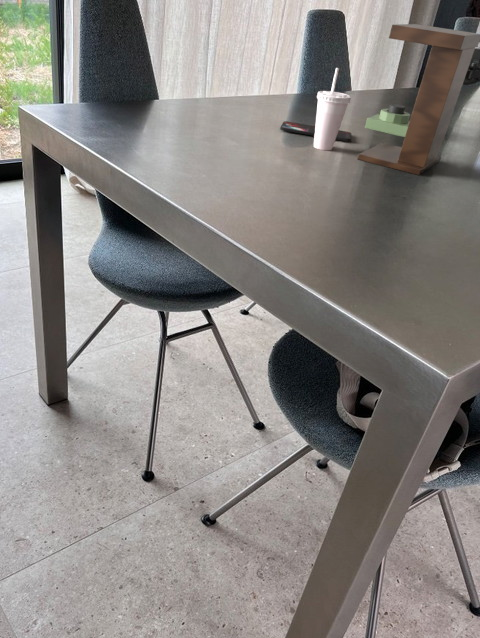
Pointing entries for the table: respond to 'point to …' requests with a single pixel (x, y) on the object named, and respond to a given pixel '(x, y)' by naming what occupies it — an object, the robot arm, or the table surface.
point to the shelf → (429, 97)
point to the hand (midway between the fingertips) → (450, 73)
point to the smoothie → (329, 116)
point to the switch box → (389, 122)
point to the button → (396, 109)
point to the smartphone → (311, 130)
